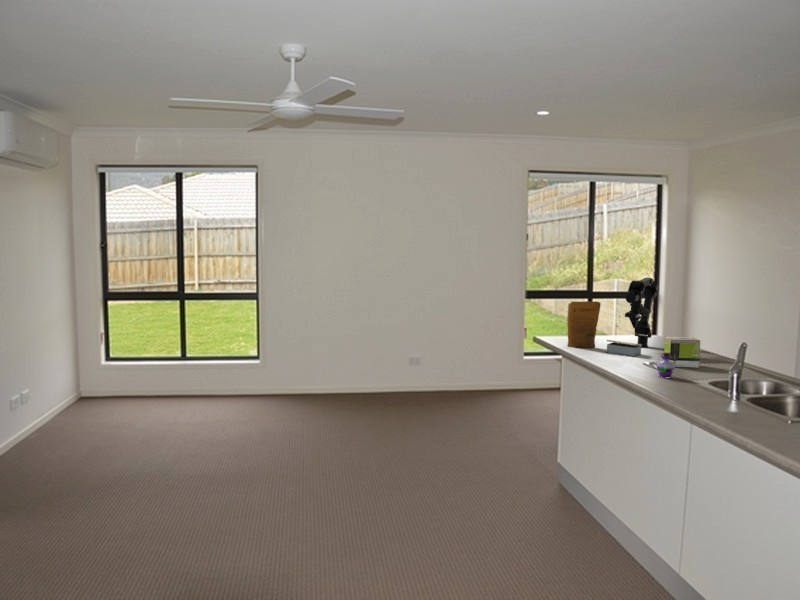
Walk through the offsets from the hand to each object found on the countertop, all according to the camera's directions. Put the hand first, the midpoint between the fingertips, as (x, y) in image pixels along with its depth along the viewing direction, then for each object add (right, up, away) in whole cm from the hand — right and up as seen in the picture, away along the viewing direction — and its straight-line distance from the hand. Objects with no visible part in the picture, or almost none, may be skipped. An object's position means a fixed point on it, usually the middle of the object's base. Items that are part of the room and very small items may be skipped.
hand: (634, 328), depth 373 cm
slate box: (-10, -14, -11) cm, 20 cm away
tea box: (+10, -18, -39) cm, 44 cm away
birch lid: (-10, -8, -11) cm, 17 cm away
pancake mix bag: (-29, -12, +6) cm, 32 cm away
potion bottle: (-10, -21, -67) cm, 71 cm away
